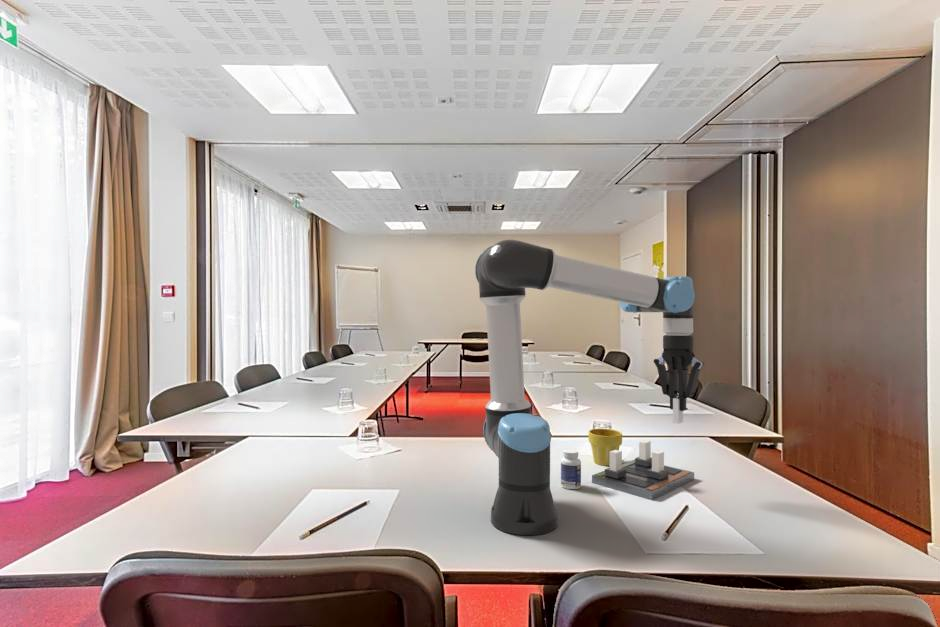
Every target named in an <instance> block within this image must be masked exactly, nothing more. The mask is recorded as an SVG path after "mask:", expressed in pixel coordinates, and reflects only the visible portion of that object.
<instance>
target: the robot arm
mask: <svg viewBox="0 0 940 627" xmlns="http://www.w3.org/2000/svg"><path fill="white" fill-rule="evenodd" d="M474 266H475V267H474V268H475V269H474V273H475V274H474V275H475V278H476V280H477V283H478V289H479V300H480V301H481V302H482V303H483V304H484V305H485V308H486V309H485V311H486V325H487V326H486V329H487V347H488V348H487V349H488V350H487V351H488V364H489V365H488V368H489V385H490V387H489V388H490V389H489V390H490V391H489V392H490V400H488V402H487V403H486V404H485V407H484V408H485V420H484V423H483V430H482V431H483V438H484V441H485V443H486V444H487V446H488V448H489V449H490V450H491V451H492V452H493V453H494V455H495V456H496V457H497V458H498V488H497V490H496V493H495V497H494V500H493V505H492V506H491V508H490V522H491V524H492V525H493V527H495V528H496V529H497V530H499V531H502V532H505V533H509V534H513V535H519V536H520V535H521V536H536V535H542V534H546V533H549V532H552V531H554V530H555V529H556V528H557V526H558V524H559V516H558V515H559V513H558V510H557V508H556V505H555V501H554V498H553V494H552V491H551V440H552V435H551V428H550V425H549V423H548V421H547V420H546V419H545V418H544V417H542V416H540V415H534V414H532V403H531V402H530V401H529V400H527V399H526V397H525V396H526V395H525V377H524V361H523V360H524V358H523V341H522V340H523V339H522V338H523V335H522V319H521V317H522V316H521V303H522V302H523V300H525V298H526V289H536V290H540V291H544V290H547V289H548V288H551V289H552V288H553V289H556V290H560V291H561V290H562V291H566V292H571V293H575V294H580V295H586V296H589V297H595V298H600V299H604V300H609V301H613V302H619V306H620V309H621V310H622V311H623V312H624V313H633V314H635V313H662V332H663V333H664V335H663V336H662V348H663V351H662V353H661V356H660V357H658V358H654V360H653V363H654V366H656V369H657V373H658V378H659V382H660V387H661V390H662V394H663V395H664V396H665V395H666V396H668V397H669V409H670V410H672V423H673V424H682V423H684V411H686V409H687V398H691V397H694V394H695V391H696V388H697V383H698V381H699V380H698V378H699V375H700V371H701V370H702V368H703V366H704V365H705V363H704V362H703V361H701V360H698V359H697V358H696V354H694V336H693V335H692V334H694V302H695V298H696V294H695V290H694V283H693V282H694V281H693V279H692V278H691V277H690V276H684V275H683V276H666V277H664V278H660V277H655V276H650V275H647V274H642V273H639V272H633V271H630V270H629V271H628V270H624V269H620V268H615V267H611V266H607V265H602V264H598V263H593V262H590V261H584V260H580V259H576V258H572V257H566V256H563V255H558V254H556V252H555V250H554V249H551V248H548V247H542V246H540V245H538V244H537V245H536V244H533V243H529V242H525V241H521V240H518V239H517V240H515V239H504V240H500V241H498V242H496V243H494V244H493V245H490V246H489V247H487V248H486V249H484V250H483V251H482V252H481V253H480V255H479V256H478V257H477V260H476V262H475V265H474ZM666 365H667V368H666ZM689 366H691V370H690V373H689V377H688V371H689ZM667 370H668V371H667Z"/></svg>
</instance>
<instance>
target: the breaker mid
mask: <svg viewBox="0 0 940 627" xmlns="http://www.w3.org/2000/svg"><path fill="white" fill-rule="evenodd" d="M651 458H652V468H651V469H649V470H647V476H649V477H653V478H657V479H660V480H661V479H663V478H666V477H668V476H669V470H665V469H664V465H665V452H664V451H660V450H655V451H652V452H651Z"/></svg>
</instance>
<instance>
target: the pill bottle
mask: <svg viewBox="0 0 940 627" xmlns="http://www.w3.org/2000/svg"><path fill="white" fill-rule="evenodd" d="M562 452H563V453H562V454H563V457H562V458H561V460H560V486H561V487H562V488H564V489H567V490H577V489H580V488H581V487H582V462H581V459H580V458H579V451H578V450H577V449H572V448H567V449H566V448H565V449H564V450H563V451H562Z"/></svg>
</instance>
